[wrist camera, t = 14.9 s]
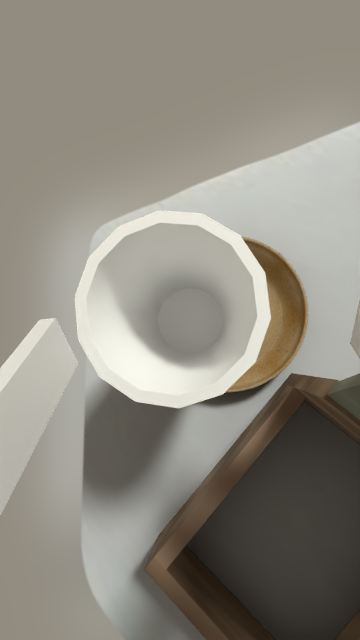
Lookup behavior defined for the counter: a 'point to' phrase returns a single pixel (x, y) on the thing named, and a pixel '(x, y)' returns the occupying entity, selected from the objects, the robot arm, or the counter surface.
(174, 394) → the foam cup
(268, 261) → the plant saucer
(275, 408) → the cold frame
